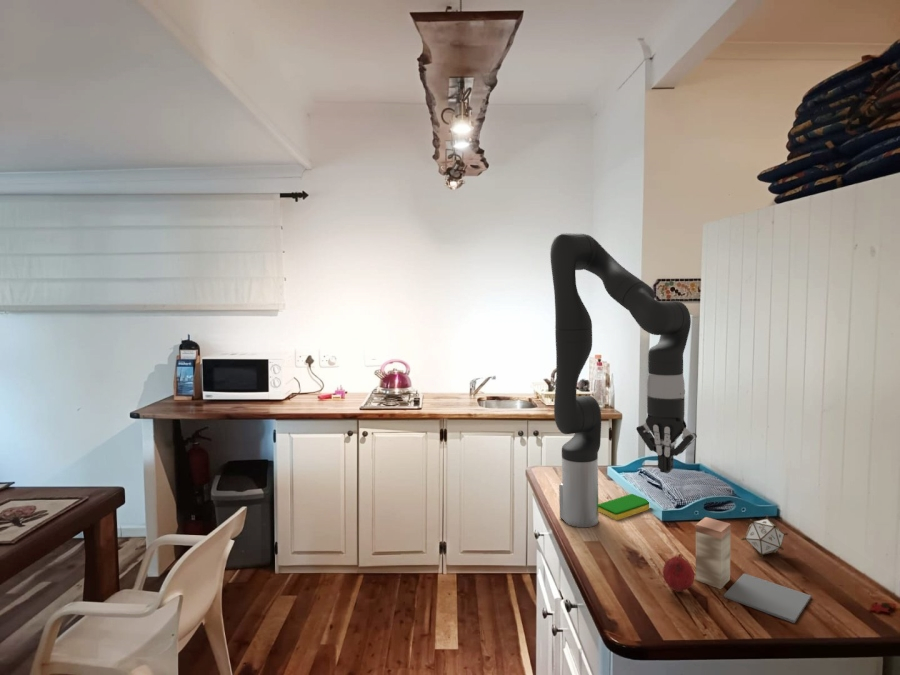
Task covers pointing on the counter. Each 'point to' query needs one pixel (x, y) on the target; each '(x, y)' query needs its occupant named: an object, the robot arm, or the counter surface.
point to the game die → (764, 536)
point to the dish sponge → (624, 506)
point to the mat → (768, 597)
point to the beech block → (713, 552)
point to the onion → (678, 573)
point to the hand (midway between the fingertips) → (665, 471)
